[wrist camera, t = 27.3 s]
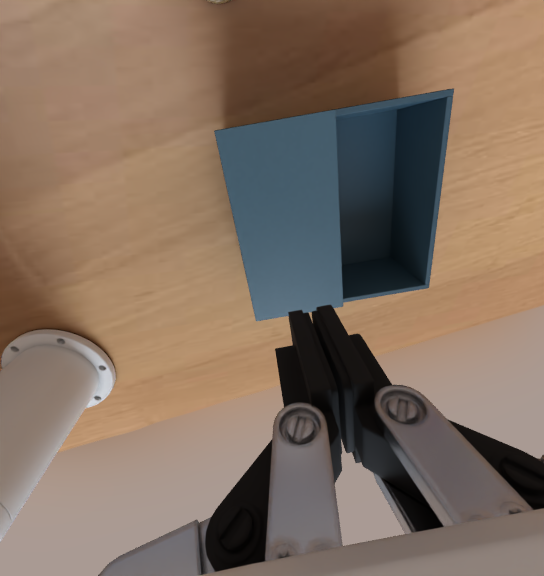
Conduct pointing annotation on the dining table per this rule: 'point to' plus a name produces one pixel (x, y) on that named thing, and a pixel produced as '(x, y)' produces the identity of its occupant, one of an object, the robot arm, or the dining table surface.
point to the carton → (390, 191)
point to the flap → (286, 211)
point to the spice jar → (218, 1)
